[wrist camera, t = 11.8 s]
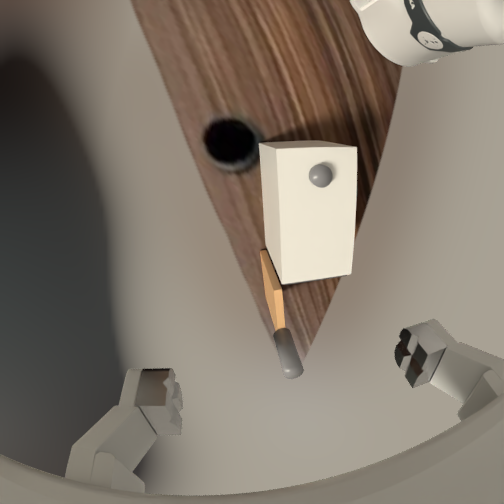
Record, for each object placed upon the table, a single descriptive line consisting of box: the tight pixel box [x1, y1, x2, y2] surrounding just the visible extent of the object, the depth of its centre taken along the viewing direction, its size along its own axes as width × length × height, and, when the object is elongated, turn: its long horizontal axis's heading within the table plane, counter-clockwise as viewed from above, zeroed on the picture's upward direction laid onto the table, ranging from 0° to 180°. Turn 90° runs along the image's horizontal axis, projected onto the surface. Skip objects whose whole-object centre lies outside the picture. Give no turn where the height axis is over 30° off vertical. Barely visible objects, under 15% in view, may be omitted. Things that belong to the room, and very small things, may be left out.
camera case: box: [259, 140, 357, 285], centre depth 36 cm, size 16×10×13 cm, turn 4°
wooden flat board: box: [260, 250, 304, 379], centre depth 38 cm, size 2×9×19 cm, turn 7°
